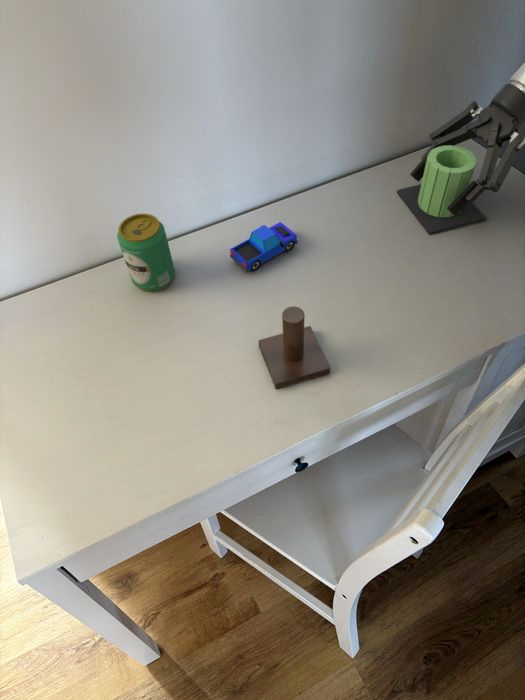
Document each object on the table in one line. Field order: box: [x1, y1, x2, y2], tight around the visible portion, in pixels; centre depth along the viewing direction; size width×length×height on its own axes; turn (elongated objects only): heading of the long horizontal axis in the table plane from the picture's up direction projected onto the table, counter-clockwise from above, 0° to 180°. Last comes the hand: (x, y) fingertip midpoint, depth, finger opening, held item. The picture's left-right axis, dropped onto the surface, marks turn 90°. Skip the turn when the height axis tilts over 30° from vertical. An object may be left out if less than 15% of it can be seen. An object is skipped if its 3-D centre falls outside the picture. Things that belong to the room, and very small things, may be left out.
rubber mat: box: [396, 183, 487, 235], centre depth 106 cm, size 14×12×1 cm
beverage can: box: [116, 213, 176, 293], centre depth 94 cm, size 8×8×12 cm
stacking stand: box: [257, 305, 332, 390], centre depth 81 cm, size 9×9×11 cm
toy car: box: [229, 221, 299, 273], centre depth 99 cm, size 7×12×5 cm, turn 127°
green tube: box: [418, 145, 478, 217], centre depth 102 cm, size 9×9×10 cm
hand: (431, 194), depth 103 cm, fingers open, 11 cm apart
